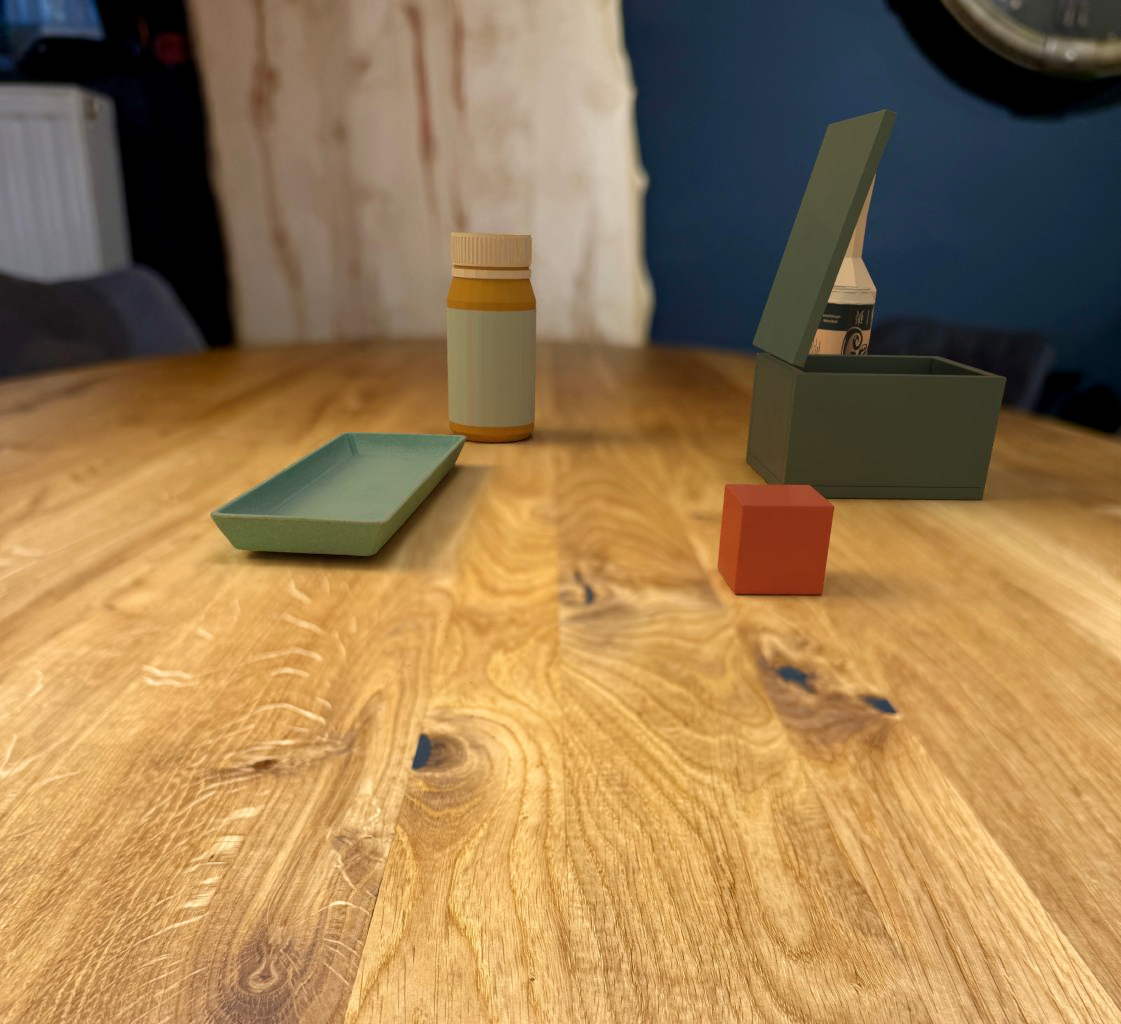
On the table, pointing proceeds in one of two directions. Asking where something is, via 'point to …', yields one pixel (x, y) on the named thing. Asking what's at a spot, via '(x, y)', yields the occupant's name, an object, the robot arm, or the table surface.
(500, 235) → the bottle
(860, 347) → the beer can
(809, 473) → the chest
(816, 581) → the block
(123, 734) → the table surface
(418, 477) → the teal serving tray
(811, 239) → the lid
